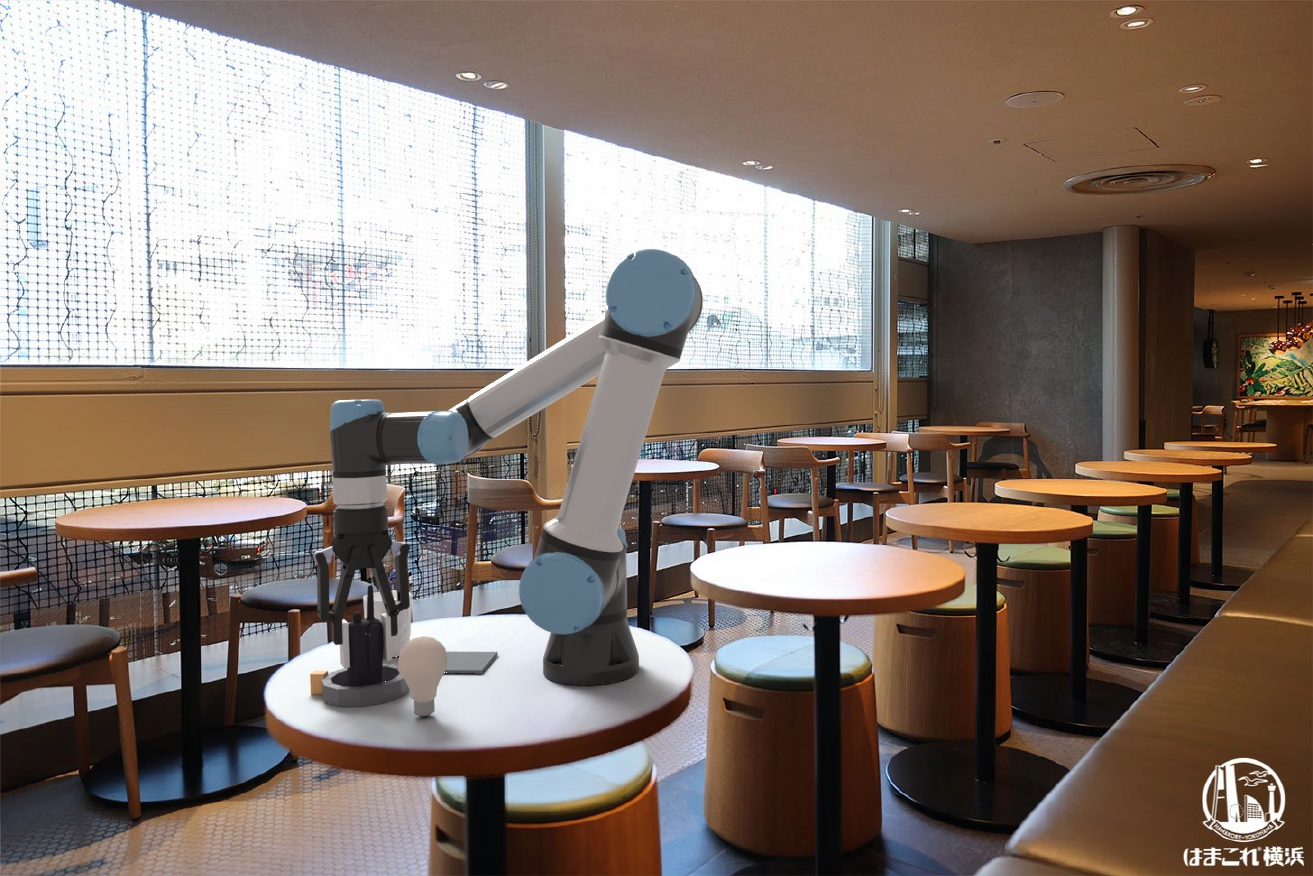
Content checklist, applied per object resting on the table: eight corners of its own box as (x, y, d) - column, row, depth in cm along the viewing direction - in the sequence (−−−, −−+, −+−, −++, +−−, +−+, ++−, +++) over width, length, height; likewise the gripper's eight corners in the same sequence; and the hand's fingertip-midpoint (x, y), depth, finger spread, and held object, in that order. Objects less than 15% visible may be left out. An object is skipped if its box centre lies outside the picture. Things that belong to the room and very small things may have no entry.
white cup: (420, 647, 153) (418, 590, 152) (402, 660, 145) (400, 600, 145) (376, 646, 154) (374, 590, 153) (356, 659, 146) (355, 600, 145)
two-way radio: (375, 680, 133) (374, 582, 132) (392, 686, 130) (392, 585, 129) (342, 689, 128) (341, 587, 128) (359, 695, 125) (359, 592, 125)
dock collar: (418, 680, 135) (418, 660, 135) (390, 707, 123) (390, 686, 123) (330, 679, 136) (330, 660, 135) (294, 706, 124) (293, 685, 124)
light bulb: (405, 709, 122) (402, 631, 122) (452, 707, 122) (450, 629, 122) (394, 726, 115) (391, 644, 115) (444, 724, 116) (442, 642, 115)
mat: (497, 655, 147) (497, 651, 147) (482, 674, 137) (481, 670, 137) (439, 655, 148) (439, 651, 148) (419, 673, 138) (419, 669, 138)
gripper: (415, 498, 136) (421, 645, 137) (289, 507, 126) (295, 666, 127) (430, 502, 129) (435, 657, 130) (297, 513, 120) (304, 680, 121)
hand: (366, 661), depth 129 cm, fingers closed on two-way radio, 5 cm apart
